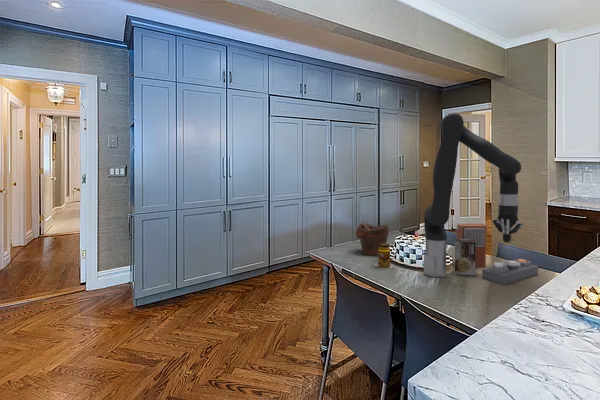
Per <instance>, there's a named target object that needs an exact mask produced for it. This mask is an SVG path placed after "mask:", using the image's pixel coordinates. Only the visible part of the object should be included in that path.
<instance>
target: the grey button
mask: <svg viewBox="0 0 600 400" xmlns="http://www.w3.org/2000/svg"><path fill="white" fill-rule="evenodd" d="M503 265H504V264H503V263H501V262H500V261H495V262H494V263H493V266H494V268H497V269H503Z"/></svg>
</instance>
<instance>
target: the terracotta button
mask: <svg viewBox="0 0 600 400" xmlns="http://www.w3.org/2000/svg"><path fill="white" fill-rule="evenodd" d="M527 261H528V260H527V259H524V258H518V262H523V263H526V262H527Z"/></svg>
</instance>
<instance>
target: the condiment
mask: <svg viewBox="0 0 600 400" xmlns="http://www.w3.org/2000/svg"><path fill="white" fill-rule="evenodd" d="M377 259H378V260H377V261H378V263H375V264H373V266H375V267H377V268H379V269H380V270H386V269H392V268H394V266H393V265H391V249H390V244H389V243H387V242H386V243H381V244H379V249H378V255H377Z"/></svg>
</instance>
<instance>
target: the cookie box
mask: <svg viewBox="0 0 600 400" xmlns="http://www.w3.org/2000/svg"><path fill="white" fill-rule="evenodd" d="M454 259H455V260H454V275H462V276H463V275H464V276H476V268H477V267H476V241H475V240H473V239H457V238H454Z"/></svg>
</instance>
